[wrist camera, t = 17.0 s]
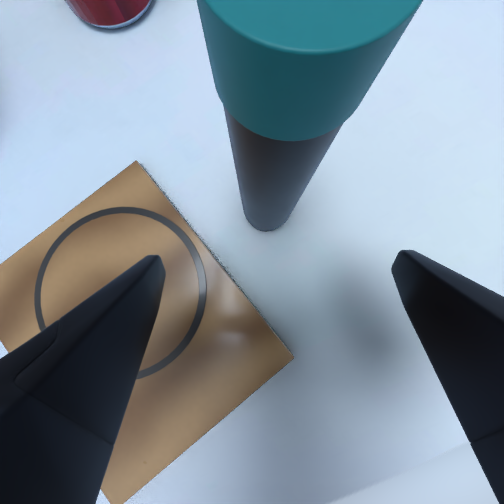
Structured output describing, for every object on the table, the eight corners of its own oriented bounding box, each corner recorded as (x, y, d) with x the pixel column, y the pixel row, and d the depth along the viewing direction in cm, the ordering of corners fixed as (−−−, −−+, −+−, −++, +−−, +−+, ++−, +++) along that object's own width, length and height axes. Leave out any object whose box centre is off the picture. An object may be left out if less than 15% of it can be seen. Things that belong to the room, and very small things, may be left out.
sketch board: (293, 355, 16) (295, 358, 15) (120, 502, 15) (113, 513, 15) (140, 163, 18) (134, 158, 17) (-24, 289, 17) (-37, 290, 16)
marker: (298, 215, 17) (497, -53, 3) (262, 244, 17) (298, 103, 3) (269, 181, 17) (326, -210, 3) (233, 209, 17) (135, -77, 3)
